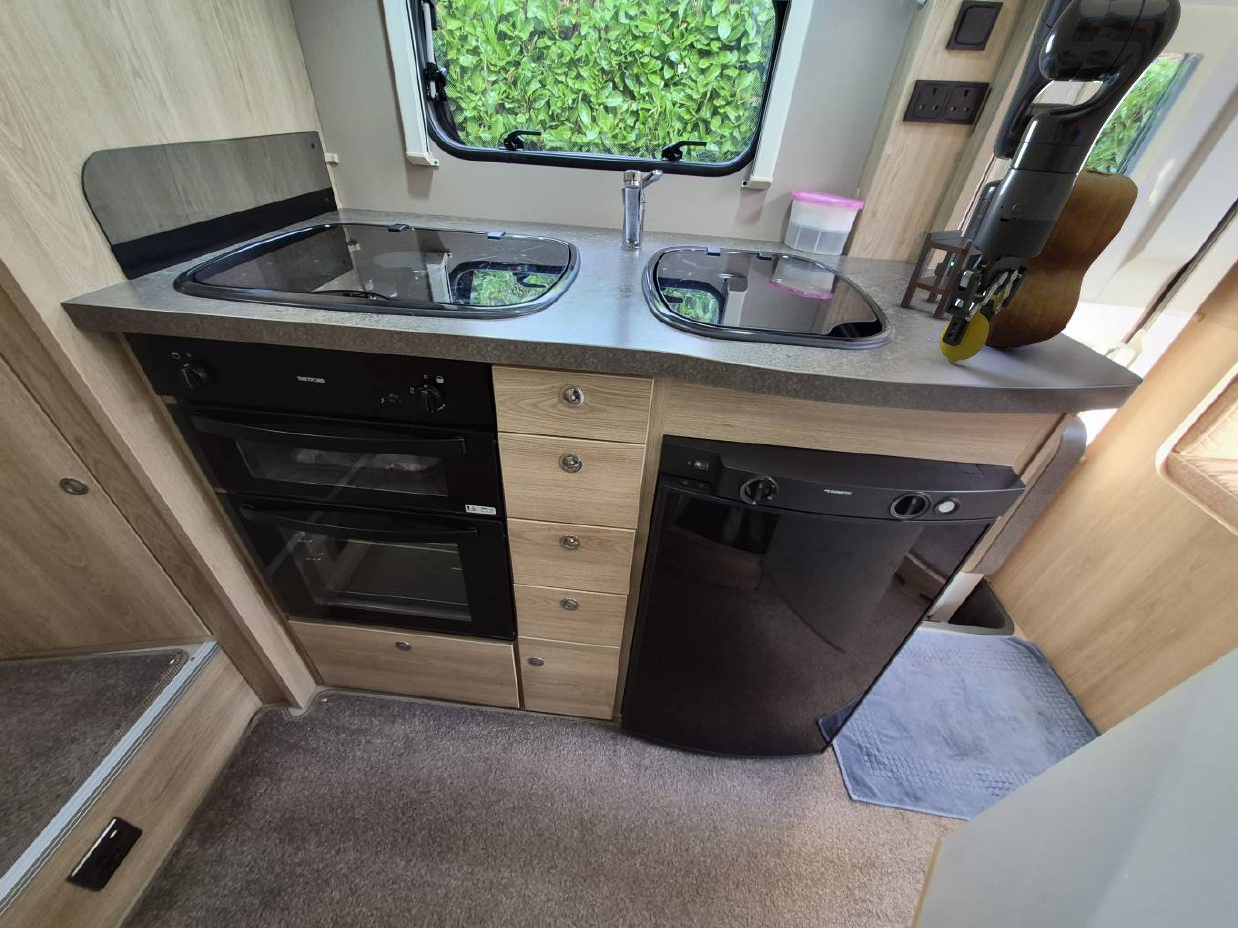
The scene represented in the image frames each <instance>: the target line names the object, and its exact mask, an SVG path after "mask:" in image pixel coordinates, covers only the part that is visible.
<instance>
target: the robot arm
mask: <svg viewBox="0 0 1238 928" xmlns="http://www.w3.org/2000/svg"><path fill="white" fill-rule="evenodd" d="M1181 15H1182V6H1181V2H1180V0H1044V4H1043V5H1042V9H1041V11H1040V14H1039V17H1038V20H1037V23H1036V27H1035V29H1034V32H1033V35H1032V39H1031V42H1030V44H1029V49H1028V51H1027V55H1026V58H1025V60H1024V64H1023V68H1022V70H1021V73H1020V77H1019V79H1018V81H1017V84H1016V87H1015V89H1014V91H1013V94H1012V97H1011V99H1010V102H1009V104H1008V106H1007V109H1006V111H1005V113H1004V116H1003V118H1002V120H1001V123H1000V124H999V128H998V130H997V132H996V137H995V139H994V142H993V148H992V153H993V156H994V157H995V158H996V159H999V160H1002V161H1003V160H1004V161H1011V162H1010V164H1009V168H1008V169H1007V170H1006V172H1005V175H1004V176H1003V178H1001V179H996V180H991V181H988V182H986V183H985V184H984V186H983V188H982V189H981V192H980V194H979V198H978V199H977V202H976V204H975V207H974V209H973V211H972V214H971V216H970V218H969V221H968V223H967V225H966V228H965V230H964V231H963V232H964V233H963V234H962V236H961V237H960V238H965V239H970V240H974V243H973V246H974V248H975V249H977V250H980V251H981V254H976V255H970V256H969V259H968V261H967V263H966V265H965V268H964V269H961V270H960V271H959V272H958V274H957V277H956V280H955V283H954V285H953V288H952V291H951V294H950V297H949V300H948V303H947V306H946V309H945V313H944V314H948V315H950V316H951V319H950V320H951V321H950V320H949V322H950V323H949V322H948V323H949V325H948V327H947V330H946V332H945V334H944V336H943V339H942V341H943V343H946V344H948V345H951V346H957V345H959V344H960V343H961V340H962V338H963V336H964V334H965V332H966V330H967V328H968V326H969V324H970V322H971V321H970V320H971V319H972V317H973V316H974V314H975V313H976V311H977V310H978V309H979V312H980V313H981V314H982V315H984V316H985V317H986V319H987V321H988V323H989V325H990V323H991V321H992V319H993V317H994V314H998V313H999V312H1000V310H1001V308H1006V307H1007V306H1008V305H1009V303H1010V302H1011V300H1012V298H1013V297H1014V295H1015V293H1016V292H1017V290H1018V288H1019V287H1020V285H1021V283H1022V282H1023V280H1024V278H1025V276H1026V275H1027V273H1028V271H1029V270H1030V267H1031V265H1028V264H1023V263H1021V262H1022V259H1023V258H1033V257H1036V256H1038V255H1039V254H1040V253H1041V251H1042V249H1043V247H1044V245H1045V243H1046V241H1047V239H1048V238H1049V236H1050V234H1051V232H1052V230H1053V228H1054V226H1055V224H1056V222H1057V220H1058V218H1059V216H1060V214H1061V212H1062V210H1063V208H1064V207H1065V205H1066V203H1067V201H1068V199H1069V197H1070V194H1071V192H1072V189H1073V186H1074V183H1075V181H1076V178H1077V176H1078V173H1079V172H1080V170H1081V168H1082V167H1084V164H1085V162H1086V161H1087V159H1088V156H1089V155H1090V153H1091V151H1092V149H1093V147H1094V145H1095V143H1096V141H1097V139H1098V138H1099V136H1100V134H1101V133H1102V131H1103V129H1104V127H1105V126H1106V125H1107V123H1108V121H1109V120H1110V119H1111V117H1112V115H1113V114H1114V113H1115V111H1116V110H1117V109H1118V107H1119V106H1120V105H1121V104H1122V102H1123V101H1124V99H1125V98H1126V97H1127V95H1128V94H1129V93H1130V92H1131V91H1132V90H1133V88H1134V87H1135V85H1136V84H1137V83H1138V82H1139V81H1140V79H1142V77H1143V76H1144V75H1145V73H1146V72H1147V71H1148V70H1149V69H1150V67H1152V65H1153V64H1154V63H1155V61H1156V60H1157V59H1158V58H1159V57H1160V56H1161V54H1162V53H1163V51H1164V50H1165V48H1166V47H1168V44H1169V43H1170V42H1171V41H1172V38H1173V37H1174V35H1175V33H1176V32H1177V29H1178V28H1179V27H1178V26H1179V24H1180V19H1181ZM1053 82H1065V83H1066V82H1067V83H1068V82H1071V83H1101V84H1100V86H1099V88H1098V89H1097V90H1096V92H1094V94H1092V95H1091V97H1089V98H1087V100H1085V101H1083V102H1081V103H1078V104H1070V103H1061V102H1060V103H1057V102H1056V103H1055V102H1034V101H1035V100H1036V98H1038V96H1039V95H1040V94H1041V93H1042V92H1044V91H1045V89H1046V88H1047V87H1049V86H1050V85H1051V84H1053ZM959 255H960V254H955V257H954V259H953V261H952V264H951V266H950V268H949V271H948V273H947V276H946V277H950V276H951V273H952V271H953V269H954V266H955V264H956V262H957V259H958V257H959ZM942 262H943V261H941V262H937V263H936V266H935V269H934V271H933V274H934V276H937V274H938V272H939V270H940V267H941V265H942ZM1001 290H1002V291H1001ZM975 294H977V295H979V297H978V296H975ZM972 303H973V305H972V306H971V304H972ZM970 306H971V308H970ZM980 310H981V311H980Z"/></svg>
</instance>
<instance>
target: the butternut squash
mask: <svg viewBox="0 0 1238 928" xmlns="http://www.w3.org/2000/svg"><path fill="white" fill-rule="evenodd" d="M1138 194H1139V188H1138V186H1137V184H1136V182H1135V181H1134V180H1133V179H1132V178H1131V177H1129V176H1128V175H1124V174H1122V173H1119V172H1112V171H1111V172H1110V171H1109V172H1108V171H1107V172H1106V171H1100V170H1097V169H1092V168H1089V167H1085V166H1082V168H1081V170H1080V172H1079V173H1078V176H1077V178H1076V181H1075V183H1074V186H1073V189H1072V192H1071V194H1070V197H1069V199H1068V201H1067V203H1066V205H1065V207H1064V208H1063V210H1062V212H1061V214H1060V216H1059V218H1058V220H1057V222H1056V224H1055V226H1054V228H1053V230H1052V232H1051V234H1050V236H1049V238H1048V239H1047V241H1046V243H1045V245H1044V247H1043V249H1042V251H1041V253H1040V254H1039V255H1038V256H1036V257H1033V258H1023V259H1022V262H1021V263H1023V264H1028V265H1031V267H1030V270H1029V271H1028V273H1027V275H1026V276H1025V278H1024V280H1023V282H1022V283H1021V285H1020V287H1019V288H1018V290H1017V292H1016V293H1015V295H1014V297H1013V298H1012V300H1011V302H1010V303H1009V305H1008V306H1007V307H1006V308H1001V310H1000V312H999V313H998V314H994V317H993V319H992V321H991V323H990V325H989V333H988V336H987V339H986V342H985V344H984V345H985V346H990V347H1002V348H1003V347H1004V348H1015V349H1016V348H1020V347H1025V346H1031V345H1036V344H1040V343H1043V342H1046V341H1049V340H1051V339H1053V338H1055V337H1056V336H1058V335H1059V334H1060V333H1062V332H1063V331H1064V330H1065V329H1066V328H1067V325H1068V324H1069V322H1070V321H1071V319H1072V317H1073V316H1074V314H1075V311H1076V310H1077V307H1078V303H1079V300H1080V296H1081V289H1082V285H1083V281H1084V278H1085V275H1086V274H1087V272H1088V271H1089V269H1090V268H1091V266H1092V265H1093V264H1094V263H1095V262H1096V260H1097V259H1098V258H1099V257H1100V255H1101V254H1102V253H1103V252H1104V251H1105V250H1106V248H1107V247H1109V245H1110V244H1111V243H1112V241H1113V240H1114V239H1115V238H1116V237H1117V235H1118V234H1119V233H1120V232H1121V230H1122V228H1123V226H1124V224H1125V222H1126V221H1127V219H1128V218H1129V215H1130V214H1131V211H1132V209H1133V207H1134V205H1135V203H1136V202H1137V198H1138ZM1001 291H1002V290H1001ZM975 296H978V297H979V295H977V294H975ZM972 305H973V303H972V304H971V306H972ZM971 306H970V308H971ZM978 310H979V309H978ZM980 311H981V310H980ZM984 345H983V346H984Z"/></svg>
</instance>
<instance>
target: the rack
mask: <svg viewBox="0 0 1238 928" xmlns="http://www.w3.org/2000/svg"><path fill="white" fill-rule="evenodd" d="M963 232H964V230H962V229H955V230H943V231H932V232H927V233H926V237H925V239H924V242H923V244H922V247H921V250H920V253H919V255H918V258H917V261H916V263H915V266H914V269H913V271H912V274H911V277H910V279H909V281H908V284H907V287H906V289H905V292H904V295H903V297H902V299H901V303H900V305H899V306H900V307H902V308H905V309H906V308H910V305H911V303H912V301H913V298H914V295H915V293H916V290H917V289H920V290H923V291H926V292H929V294H928V296H927V298H926V302H928V303H936V301H937V300H938V297H939V296H941V297H940V299H939V302H938V304H937V306H936V308H935V311H934V314H933V316H932V318H935V319H937V320H940V319H943V318H944V316H945V314H946V313H945V309H946V306H947V303H948V300H949V297H950V294H951V291H952V288H953V285H954V283H955V280H956V277H957V274H958V272H959V271H960V270H961V269H964V268H965V265H966V263H967V261H968V259H969V256H970V255H976V254H981V251H980V250H977V249H975V248H974V246H973V243H974V240H970V239H965V238H960V237H962V236H963ZM933 249H935V250H940V251H943V252H945V254H944V257H943V259H942V261H941V262H942V265H941V267H940V270H939V272H938V274H937V276H935V275H932V276H926V277H922V275H923V273H924V270H925V267H926V265H927V262H928V260H929V257H930V255H931V253H932V250H933ZM955 254H960V255H959V257H958V259H957V262H956V264H955V266H954V269H953V271H952V273H951V276H950V277H946V276H947V273H948V271H949V268H950V266H951V264H952V261H953V259H954V257H955Z"/></svg>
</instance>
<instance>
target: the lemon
mask: <svg viewBox="0 0 1238 928" xmlns="http://www.w3.org/2000/svg"><path fill="white" fill-rule="evenodd" d="M950 321H951V319H950V320H949V322H948V323H946V325H945V327H944V328H943V330H942V332H941V335H940V338H939V349H940V351H941V354H942V355H943V356H944V357H946V358H947V361H948V362H949V363H951V364H955V363H956V362H959V361H965V360H968V359H971V358H972V357H975V356H976V355H977V354H978V353H979V352H980V351H981V350H982V349H983V347H984V344H985V342H986V339H987V336H988V333H989V323H988V321H987V319H986V317H985V316H984V315H982V314H981V313H980V312H979V310H977V311H976V313H975V314H974V316H973V317H972V319H971V320H970V321H971V322H970V324H969V326H968V328H967V330H966V332H965V334H964V336H963V338H962V340H961V343H960V344H959V345H957V346H951V345H948V344H946V343H943V341H942V339H943V336H944V334H945V332H946V330H947V327H948V325H949V323H950Z"/></svg>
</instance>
